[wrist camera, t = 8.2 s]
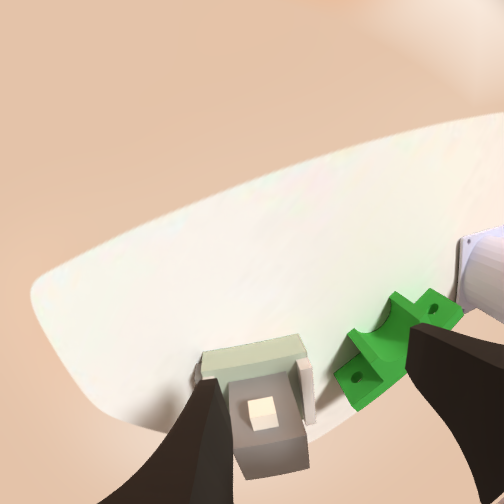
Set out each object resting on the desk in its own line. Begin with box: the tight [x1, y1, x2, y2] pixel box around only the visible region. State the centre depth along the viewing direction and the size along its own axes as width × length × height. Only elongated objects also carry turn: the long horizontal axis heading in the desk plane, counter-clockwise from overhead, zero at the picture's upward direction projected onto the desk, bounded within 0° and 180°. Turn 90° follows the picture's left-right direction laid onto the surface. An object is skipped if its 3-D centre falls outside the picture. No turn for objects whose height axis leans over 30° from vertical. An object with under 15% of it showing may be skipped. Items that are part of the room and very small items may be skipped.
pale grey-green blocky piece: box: [194, 334, 316, 426], centre depth 19 cm, size 8×7×4 cm
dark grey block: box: [228, 371, 310, 480], centre depth 15 cm, size 4×5×6 cm
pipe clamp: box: [334, 288, 464, 412], centre depth 19 cm, size 11×4×5 cm, turn 130°
